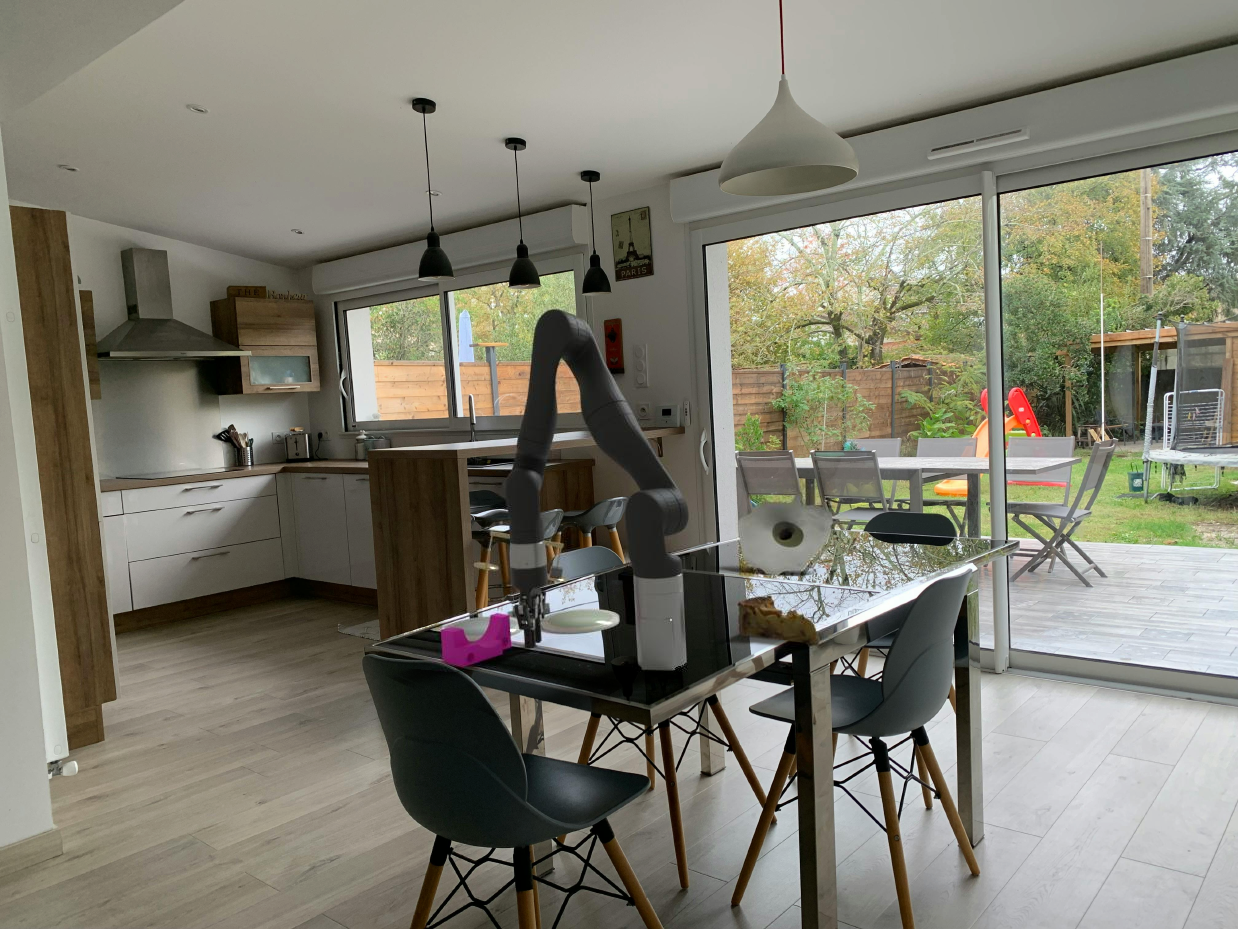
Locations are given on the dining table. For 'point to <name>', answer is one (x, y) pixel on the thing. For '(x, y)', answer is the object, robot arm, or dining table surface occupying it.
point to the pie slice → (774, 622)
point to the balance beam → (555, 570)
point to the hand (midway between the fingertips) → (533, 644)
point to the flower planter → (783, 535)
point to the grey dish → (480, 627)
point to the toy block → (486, 647)
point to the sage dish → (580, 621)
